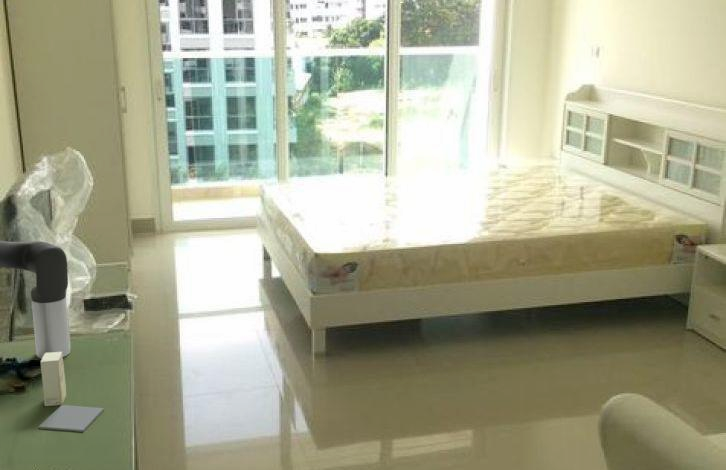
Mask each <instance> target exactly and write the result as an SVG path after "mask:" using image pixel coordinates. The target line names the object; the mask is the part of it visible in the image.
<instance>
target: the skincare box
mask: <svg viewBox="0 0 726 470" xmlns="http://www.w3.org/2000/svg"><path fill="white" fill-rule="evenodd" d="M64 365H65V364H64V357H63V354H62V352H47V353H45V354H44V355H43V357H42V359H41V360H40V371H41V373H40V374H41V382H42V393H43V401H44V407H53V406H61V405H64V402H65V399H66V398H67V387H66V376H65V366H64Z"/></svg>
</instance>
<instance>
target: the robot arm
mask: <svg viewBox="0 0 726 470" xmlns="http://www.w3.org/2000/svg"><path fill="white" fill-rule="evenodd" d="M2 268H5V269H15V270H21V271H22V270H23V271H28V272H30V273H33V274H35V279H36V282H35V283H36V284H35V285H36V286H35V287H33V288H32V289H31V291H30V297H31V298H30V299H31V301H30V302H31V309H32V310H31V311H32V320H33V331H34V333H33V334H34V343H35V345H34V346H35V353H36V358H38V359H42V357H43V355H44V354H45V353H47V352H62V354H63V358H65V357H66V356H68V355H69V354H70V353H71V348H72V347H71V334H70V333H71V331H70V321H69V320H70V319H69V318H68V317H69V315H68V304H67V290H68V285H69V274H68V273H69V272H68V271H69V270H68V258H67V255H66V253H65V251H64V250H63V248H61V247H60V246H57V245H55V244H52V243H49V242H45V241H5V240H0V269H2ZM3 364H4V359H3V356H0V366H2V365H3Z"/></svg>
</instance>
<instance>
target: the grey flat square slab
mask: <svg viewBox="0 0 726 470" xmlns="http://www.w3.org/2000/svg"><path fill="white" fill-rule="evenodd" d="M104 411H105V408H104V407H93V406H92V407H91V406H80V405H67V404H62V405H59V407H58V408H57V409H56V410H55V411H54V412H53V413H51V414H50V415H49V417H47V418H46V419H45V420H44V421H43V422H42V423H41V424H40V425H39V426H38V429H40V430H42V429H43V430H44V429H45V430H53V431H54V430H55V431H56V430H57V431H67V432H81V433H84V432H85V431H86V430H87V429H88V428H89V427H90V426H91V425H92V424H93V422H94V421H95V420H97V418H98V417H100V416H101V414H102V413H103V412H104Z"/></svg>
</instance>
